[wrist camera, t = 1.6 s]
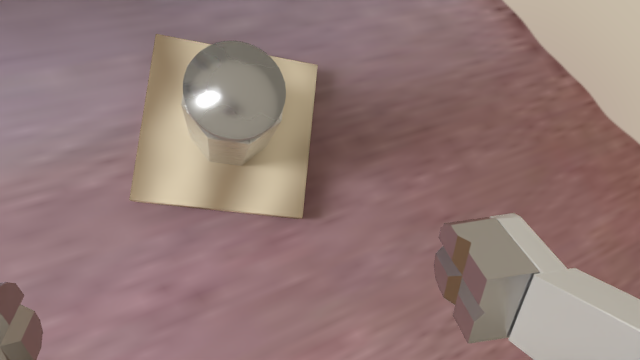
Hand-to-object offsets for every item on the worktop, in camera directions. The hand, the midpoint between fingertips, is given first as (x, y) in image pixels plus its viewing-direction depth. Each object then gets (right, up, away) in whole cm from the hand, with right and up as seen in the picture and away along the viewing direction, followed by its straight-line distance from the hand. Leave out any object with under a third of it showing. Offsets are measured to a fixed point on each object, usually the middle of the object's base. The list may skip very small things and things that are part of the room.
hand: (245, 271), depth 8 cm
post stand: (-6, +5, +24) cm, 25 cm away
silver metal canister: (-5, +6, +22) cm, 23 cm away
